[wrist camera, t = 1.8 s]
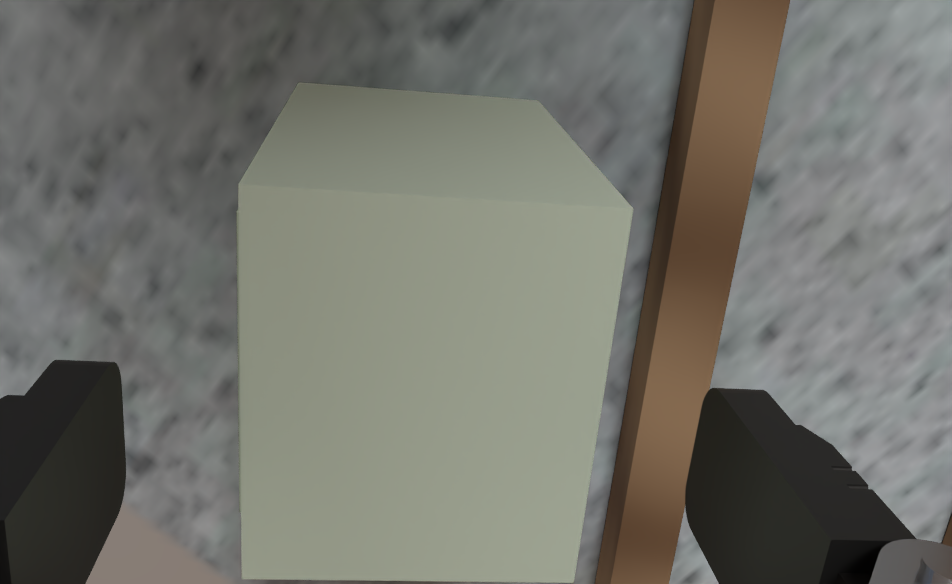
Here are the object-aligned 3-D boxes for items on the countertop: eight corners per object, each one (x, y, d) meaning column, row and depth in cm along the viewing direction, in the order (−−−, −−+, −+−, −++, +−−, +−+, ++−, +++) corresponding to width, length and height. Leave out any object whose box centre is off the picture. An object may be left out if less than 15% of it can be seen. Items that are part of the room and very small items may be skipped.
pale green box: (291, 81, 18) (226, 183, 11) (537, 100, 19) (633, 209, 12) (287, 345, 21) (231, 578, 13) (508, 354, 21) (573, 583, 14)
